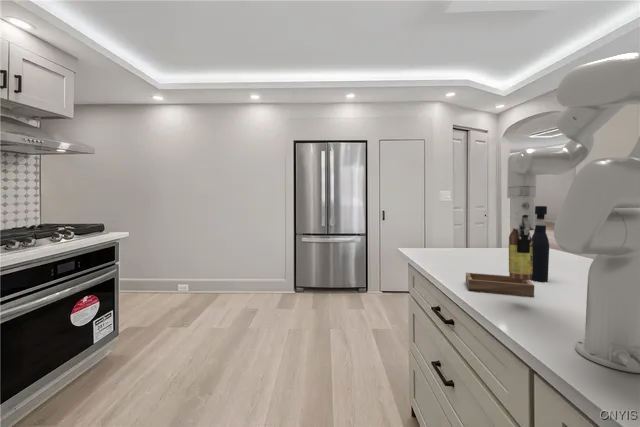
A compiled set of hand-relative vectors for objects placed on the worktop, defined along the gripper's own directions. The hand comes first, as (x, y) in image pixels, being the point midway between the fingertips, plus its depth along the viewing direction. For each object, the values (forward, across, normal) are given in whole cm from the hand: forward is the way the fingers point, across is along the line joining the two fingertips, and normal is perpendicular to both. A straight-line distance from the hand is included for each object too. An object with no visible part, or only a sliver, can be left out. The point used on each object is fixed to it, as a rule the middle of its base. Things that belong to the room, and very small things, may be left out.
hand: (520, 250), depth 97 cm
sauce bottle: (+9, 0, 0) cm, 9 cm away
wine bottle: (+16, +36, -15) cm, 42 cm away
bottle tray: (+17, +16, +3) cm, 23 cm away
